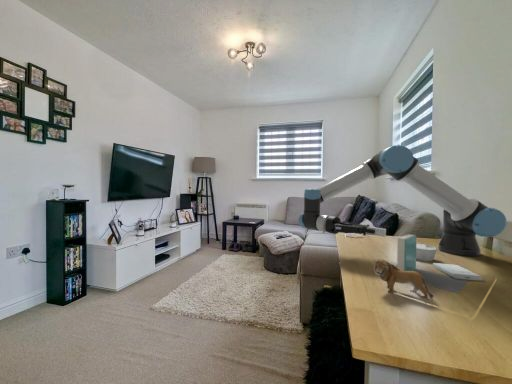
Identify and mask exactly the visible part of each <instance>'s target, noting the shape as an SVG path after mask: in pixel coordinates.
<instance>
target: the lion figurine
mask: <svg viewBox="0 0 512 384" xmlns="http://www.w3.org/2000/svg"><path fill="white" fill-rule="evenodd" d="M373 262H374V264H373V272H374V273H375V275H376V276H377V277H379V278H380V279H381V280H382V282H383V281H384V282H386V283H387V286H386V288H388V290H387V293H388V294H393V293H394V291H395V290H394V286H395V283H397V284H403V285H404V284H409V283H412V286H413V289H412V290H411V289H410V290H409V291H410V293H417V292H418V291H420V292H421V293H422V294H423V295H422V296H421V298H423V299H429V296H430V297H434V294H433V293H431V292H430V290H429V285H427V282H426V280H425V278H424V277H423V276H422V275H421V274H420V273H418V272H416V271H402V270H399V269H397V268H396V266H395V265H394V264H392V263H390V262H388V261H387V260H385V259H376V260H374V261H373ZM422 280H423V282H424V284H422Z"/></svg>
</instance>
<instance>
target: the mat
mask: <svg viewBox="0 0 512 384" xmlns="http://www.w3.org/2000/svg"><path fill="white" fill-rule="evenodd" d="M395 267H396V268H397V265H396V266H395ZM415 271H416V272H418V273H420V274H421V275H422V276H423V277H424V278H425V280H426V282H427V286H428V287H432V288H433V287H434V288H437V289H441V290H445V291H448V292H452V293H456V294H459V293H460V291H461V290H462V289H463V288H464V287H465V286H466V285H467V283H468V282H469V281H468V280H467V279H457V278H453V277H451V276H449V275H443V274H440V273H435V272H432V271H426V270H422V269H418V268H416V270H415ZM422 285H424V282H423V280H422Z"/></svg>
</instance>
